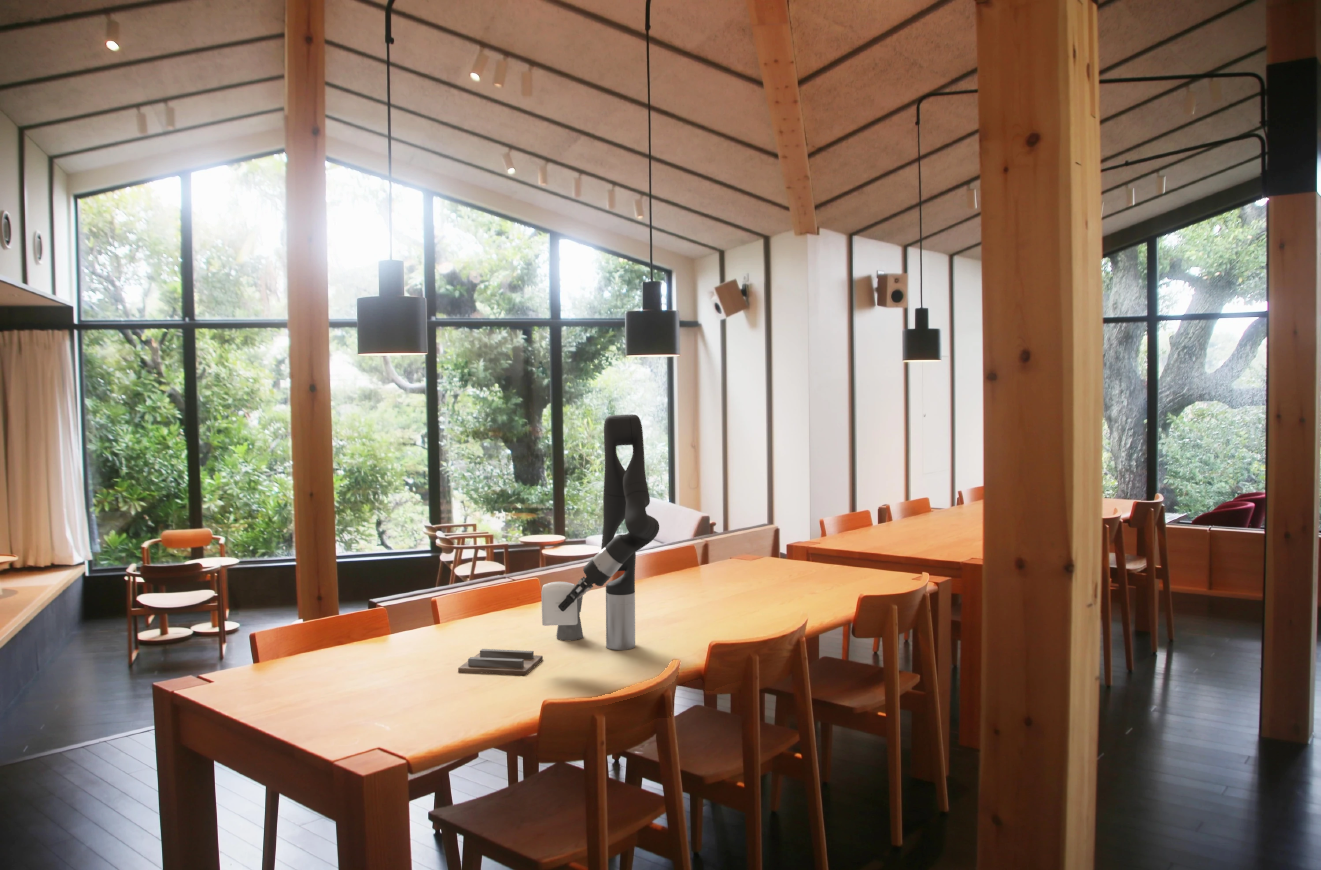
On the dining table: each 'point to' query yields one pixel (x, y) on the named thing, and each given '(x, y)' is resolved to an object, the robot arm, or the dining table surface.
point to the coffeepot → (571, 627)
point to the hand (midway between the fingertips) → (563, 606)
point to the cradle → (501, 662)
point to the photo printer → (557, 604)
